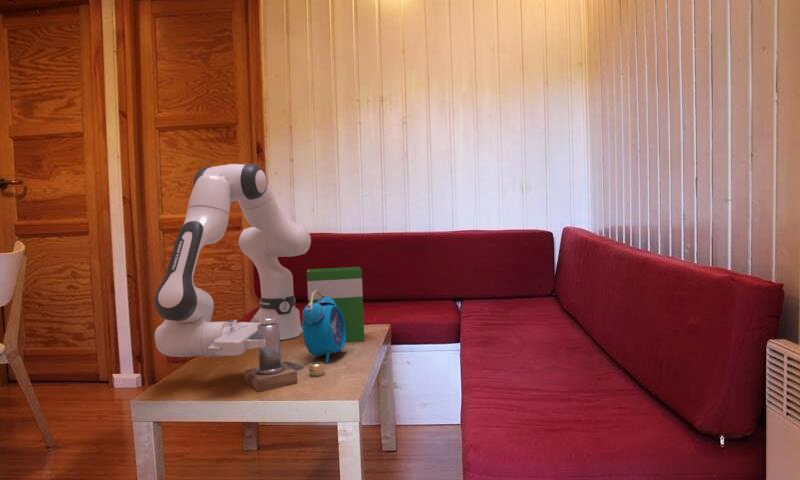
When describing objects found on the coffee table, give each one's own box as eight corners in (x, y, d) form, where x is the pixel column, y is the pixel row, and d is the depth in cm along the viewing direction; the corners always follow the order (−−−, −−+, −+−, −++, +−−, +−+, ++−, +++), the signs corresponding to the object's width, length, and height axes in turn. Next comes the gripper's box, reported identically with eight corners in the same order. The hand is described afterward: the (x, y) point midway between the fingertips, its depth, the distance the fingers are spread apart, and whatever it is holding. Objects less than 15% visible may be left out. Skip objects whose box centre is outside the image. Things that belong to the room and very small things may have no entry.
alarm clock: (334, 365, 151) (331, 295, 150) (299, 364, 153) (296, 295, 152) (351, 349, 168) (348, 286, 166) (319, 349, 170) (316, 286, 168)
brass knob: (306, 374, 144) (306, 363, 144) (320, 371, 146) (319, 360, 146) (313, 378, 141) (312, 366, 141) (327, 375, 143) (326, 363, 143)
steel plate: (268, 370, 151) (268, 366, 151) (286, 365, 155) (286, 361, 155) (285, 375, 145) (285, 371, 145) (303, 370, 150) (303, 365, 150)
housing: (252, 370, 139) (249, 318, 138) (278, 365, 143) (275, 314, 142) (262, 376, 133) (259, 322, 132) (288, 371, 137) (286, 318, 136)
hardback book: (362, 336, 185) (359, 266, 183) (364, 341, 178) (361, 269, 176) (310, 340, 182) (307, 269, 181) (310, 345, 175) (306, 272, 173)
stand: (245, 381, 139) (244, 370, 139) (281, 373, 145) (281, 362, 145) (259, 391, 131) (258, 379, 131) (297, 382, 137) (296, 371, 137)
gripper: (201, 336, 128) (258, 335, 127) (233, 318, 148) (282, 317, 147) (202, 362, 128) (259, 362, 127) (234, 341, 149) (283, 340, 148)
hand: (272, 338), depth 138 cm, fingers open, 8 cm apart
